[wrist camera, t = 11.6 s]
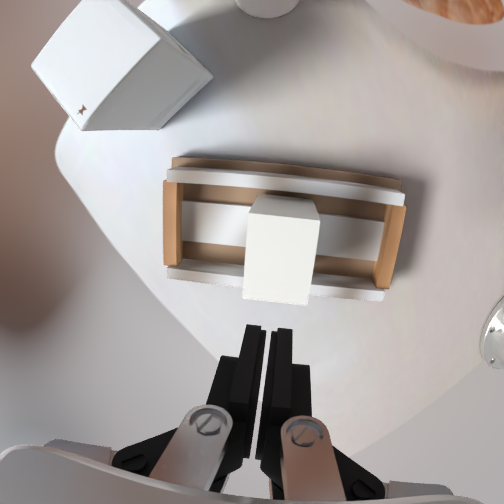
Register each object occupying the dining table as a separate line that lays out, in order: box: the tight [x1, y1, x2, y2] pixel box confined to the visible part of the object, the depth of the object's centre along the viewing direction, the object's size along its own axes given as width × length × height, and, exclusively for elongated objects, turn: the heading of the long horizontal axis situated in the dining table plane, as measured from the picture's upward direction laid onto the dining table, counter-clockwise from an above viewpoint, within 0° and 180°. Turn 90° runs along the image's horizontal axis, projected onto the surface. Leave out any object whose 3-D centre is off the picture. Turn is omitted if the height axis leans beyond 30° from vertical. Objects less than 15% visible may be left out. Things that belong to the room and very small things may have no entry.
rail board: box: [163, 157, 407, 302], centre depth 28 cm, size 20×11×4 cm, turn 86°
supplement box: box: [31, 0, 214, 131], centre depth 20 cm, size 7×7×13 cm
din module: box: [242, 194, 320, 306], centre depth 24 cm, size 4×6×7 cm
